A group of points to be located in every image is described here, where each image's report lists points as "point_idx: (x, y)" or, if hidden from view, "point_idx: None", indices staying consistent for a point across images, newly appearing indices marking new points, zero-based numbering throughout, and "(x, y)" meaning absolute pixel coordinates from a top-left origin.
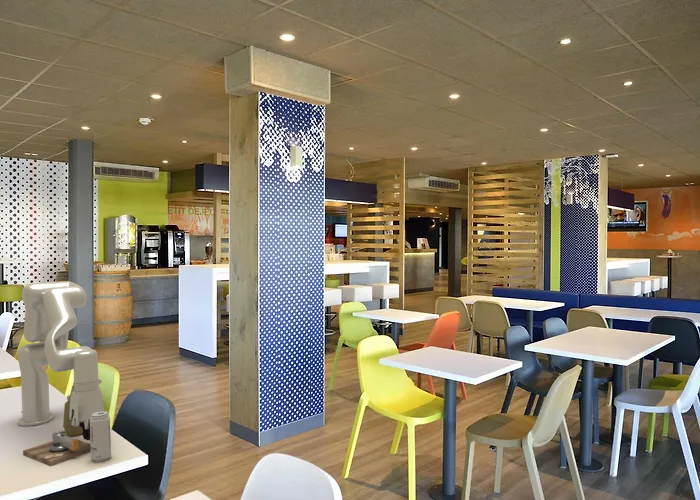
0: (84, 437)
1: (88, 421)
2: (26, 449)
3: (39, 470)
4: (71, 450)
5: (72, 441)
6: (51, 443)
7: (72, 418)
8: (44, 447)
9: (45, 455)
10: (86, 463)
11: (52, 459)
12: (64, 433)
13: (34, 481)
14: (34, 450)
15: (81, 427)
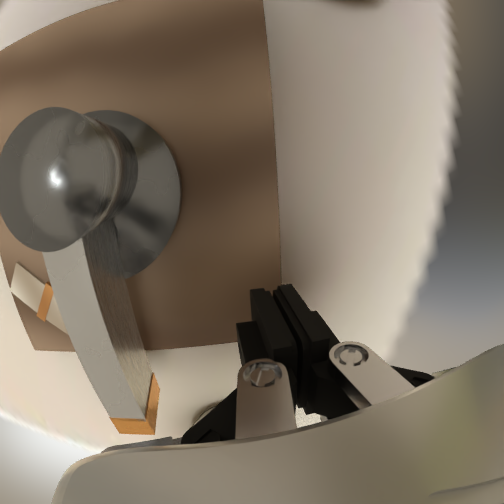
0: (238, 343)
1: (353, 399)
2: (7, 48)
3: (10, 336)
4: (141, 297)
5: (114, 423)
6: (119, 30)
7: (112, 467)
8: (56, 78)
9: (16, 242)
10: (169, 421)
11: (39, 335)
12: (77, 237)
13: (12, 397)
14: (10, 94)
15: (232, 400)
